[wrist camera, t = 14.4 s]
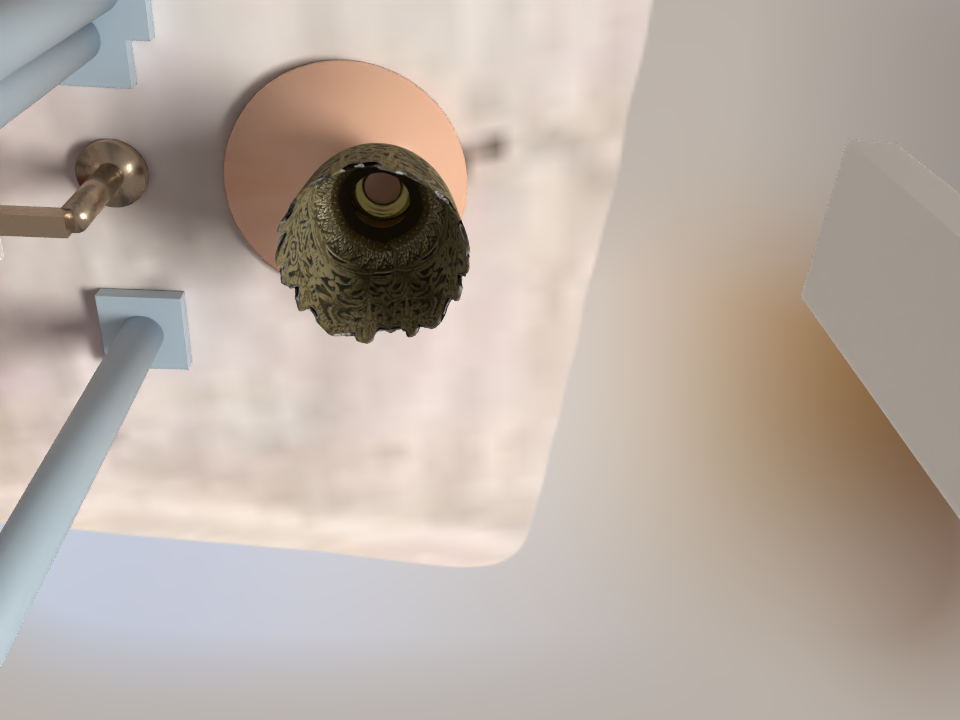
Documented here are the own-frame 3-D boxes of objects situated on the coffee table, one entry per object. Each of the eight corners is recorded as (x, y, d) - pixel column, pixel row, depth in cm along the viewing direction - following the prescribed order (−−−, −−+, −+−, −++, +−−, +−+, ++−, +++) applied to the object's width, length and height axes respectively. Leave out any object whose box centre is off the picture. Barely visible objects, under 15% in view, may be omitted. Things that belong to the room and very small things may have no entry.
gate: (111, 358, 47) (-143, 801, 26) (39, -74, 36) (-477, 93, 16) (192, 361, 47) (3, 801, 26) (143, -67, 37) (-230, 104, 16)
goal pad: (216, 52, 39) (213, 56, 39) (474, 66, 40) (474, 70, 39) (235, 284, 45) (232, 289, 44) (460, 292, 46) (461, 298, 45)
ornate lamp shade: (311, 264, 44) (289, 350, 37) (288, 111, 40) (258, 175, 33) (468, 255, 44) (474, 339, 37) (459, 101, 40) (465, 163, 33)
